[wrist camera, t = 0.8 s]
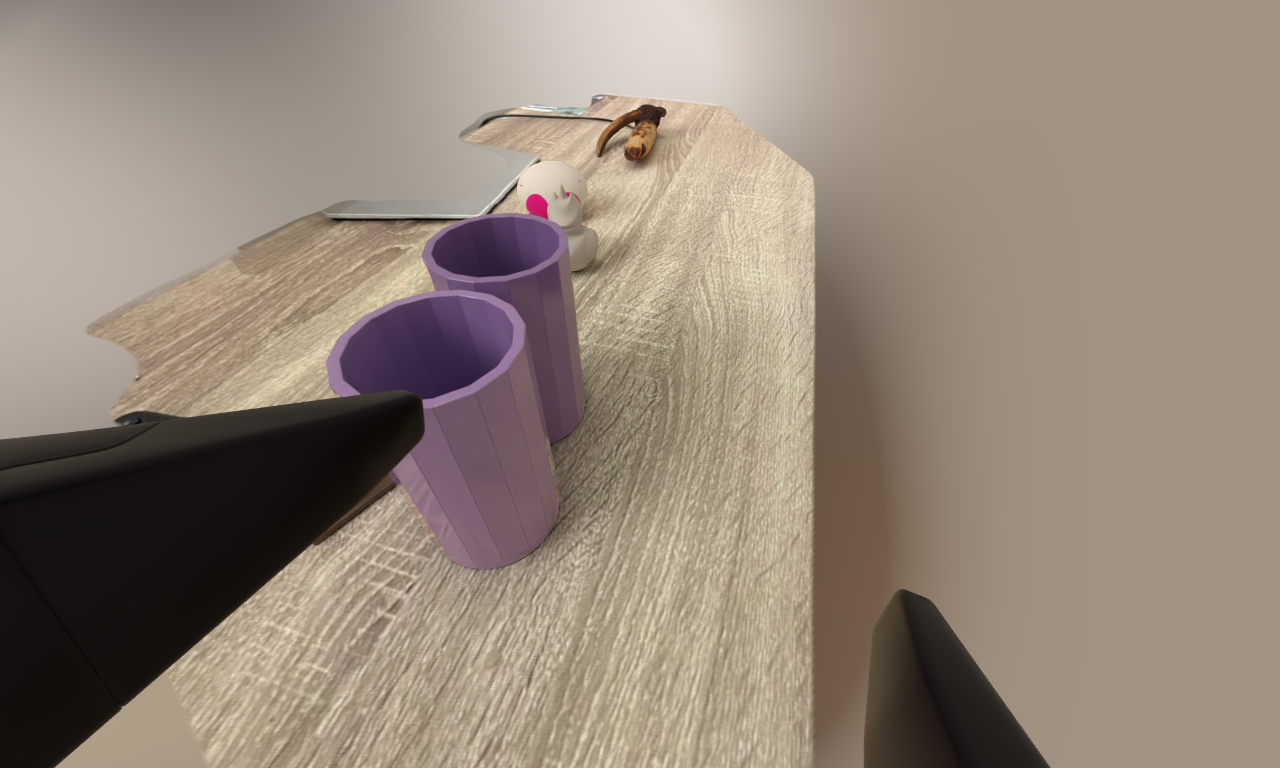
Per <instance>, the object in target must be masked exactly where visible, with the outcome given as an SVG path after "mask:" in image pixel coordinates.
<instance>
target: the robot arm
mask: <svg viewBox="0 0 1280 768" xmlns="http://www.w3.org/2000/svg"><path fill="white" fill-rule="evenodd" d="M424 433H425V421H424V409H423V401H422V399H421V397H420V396H418V395H417V394H414V393H412V392H409V391H407V390H402V389H399V390H391V391H383V392H376V393H368V394H361V395H353V396H346V397H338V398H331V399H323V400H316V401H308V402H301V403H293V404H286V405H278V406H271V407H263V408H256V409H248V410H241V411H233V412H226V413H218V414H211V415H203V416H196V417H188V418H181V419H173V420H166V421H164V422H159V421H158V422H150V423H142V424H135V425H127V426H119V427H111V428H104V429H95V430H87V431H78V432H69V433H60V434H50V435H41V436H32V437H22V438H12V439H2V440H0V768H54V767H56V766H57V765H58V764H59V763H60V762H61V761H63V759H65V758H66V757H67V756H68V755H70V753H72V752H73V751H74V750H75V749H76V748H78V747H79V746H80V745H81V744H82V743H83V742H85V741H86V740H87V739H88V738H89V737H90V736H91V735H93V734H94V733H95V732H96V731H97V730H98V729H99V728H101V727H102V726H103V725H104V724H105V723H106V722H108V721H109V720H110V719H111V718H112V717H113V716H114V715H116V714H117V713H118V712H119V711H120V710H121V709H122V706H125V705H126V704H128V703H129V702H130V701H131V700H132V699H133V698H135V697H136V696H137V695H138V694H139V693H140V692H141V691H143V690H144V689H145V688H146V687H147V686H148V685H150V684H151V683H152V682H153V681H154V680H155V679H157V678H158V677H159V676H160V675H161V674H162V673H163V672H165V671H166V670H167V669H168V668H169V667H170V666H172V665H173V664H174V663H175V662H176V661H177V660H178V659H180V658H181V657H182V656H183V655H184V654H185V653H187V652H188V651H189V650H190V649H191V648H192V647H194V646H195V645H196V644H197V643H198V642H199V641H200V640H202V639H203V638H204V637H205V636H206V635H207V634H209V633H210V632H211V631H212V630H213V629H214V628H215V627H217V626H218V625H219V624H220V623H221V622H222V621H224V620H225V619H226V618H227V617H228V616H229V615H230V614H232V613H233V612H234V611H235V610H236V609H237V608H239V607H240V606H241V605H242V604H243V603H244V602H245V601H247V600H248V599H249V598H250V597H251V596H252V595H254V594H255V593H256V592H257V591H258V590H259V589H261V588H262V587H263V586H264V585H265V584H266V583H267V582H269V581H270V580H271V579H272V578H273V577H274V576H276V575H277V574H278V573H279V572H280V571H281V570H282V569H284V568H285V567H286V566H287V565H288V564H289V563H291V562H292V561H293V560H294V559H295V558H296V557H297V556H299V555H300V554H301V553H302V552H303V551H304V550H306V549H307V548H308V547H309V546H310V545H311V544H312V543H314V542H315V541H316V540H317V539H318V538H319V537H321V536H322V535H323V534H324V533H325V532H326V531H328V530H329V529H330V528H331V527H332V526H333V525H334V524H336V523H337V522H338V521H339V520H340V519H341V518H343V517H344V516H345V515H346V514H347V513H348V512H349V511H351V510H352V509H353V508H354V507H355V506H356V505H358V504H359V503H360V502H361V501H362V500H363V499H364V498H365V497H366V496H367V495H368V494H369V493H370V492H371V491H372V490H373V489H374V488H376V486H377V485H378V484H379V483H380V482H381V481H382V480H383V479H384V478H385V477H386V476H387V475H388V474H389V473H390V472H391V471H392V470H393V469H394V468H395V467H396V466H397V465H398V464H399V463H400V462H401V461H402V460H403V459H404V458H405V457H406V456H407V455H408V453H409V452H410V451H411V450H412V449H413V448H414V447H415V446H416V445H417V444H418V443H419V442H420V441H421V439H422V438H423V436H424ZM864 768H1050V767H1049V765H1048V764H1047V762H1046V761H1045V759H1044V758H1043V756H1042V755H1041V754H1040V752H1039V751H1038V750H1037V748H1036V747H1035V745H1034V744H1033V742H1032V741H1031V740H1030V738H1029V737H1028V735H1027V734H1026V733H1025V731H1024V730H1023V728H1022V727H1021V726H1020V724H1019V723H1018V721H1017V720H1016V719H1015V717H1014V716H1013V714H1012V713H1011V712H1010V710H1009V709H1008V708H1007V706H1006V704H1005V703H1004V702H1003V700H1002V699H1001V698H1000V696H999V695H998V693H997V692H996V691H995V689H994V688H993V686H992V685H991V683H990V682H989V681H988V679H987V678H986V676H985V675H984V674H983V672H982V671H981V669H980V668H979V667H978V665H977V664H976V662H975V661H974V660H973V658H972V657H971V655H970V654H969V653H968V651H967V650H966V648H965V647H964V645H963V644H962V643H961V641H960V640H959V638H958V637H957V636H956V634H955V633H954V632H953V630H952V629H951V627H950V626H949V624H948V623H947V622H946V620H945V619H944V617H943V616H942V615H941V613H940V612H939V610H938V609H937V608H936V606H935V605H934V604H933V603H932V602H931V601H930V600H929V599H927V598H925V597H922V596H919V595H917V594H915V593H912V592H910V591H907V590H904V589H902V590H898V591H897V592H896V593H895V594H894V595H893V597H892V599H891V600H890V602H889V603H888V605H887V606H886V608H885V610H884V611H883V613H882V614H881V616H880V618H879V619H878V621H877V623H876V625H875V628H874V631H873V636H872V647H871V659H870V670H869V683H868V694H867V706H866V719H865V732H864Z"/></svg>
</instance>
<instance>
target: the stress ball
mask: <svg viewBox="0 0 1280 768" xmlns="http://www.w3.org/2000/svg"><path fill="white" fill-rule="evenodd" d="M561 184H562V186H563V188H564V190H565V192H566V195H567V197H569V196H570V193H571V192H572V193H573V194H574V195H575V197H576V198H577V199H578V200H579V202H580V204H581V206H583V205H584V203H585V201H586V198H587V184H586V181H585V179H584V177H583V176H582V174H581V173H580V172H579V171H578V170H577V169H575V168H574V167H572V166H571V165H569V164H566V163H563V162H559V161H544V162H540V163H537V164H534V165H532V166H531V167H529V168H528V169H527V170H526V171H525V172H524V173H523V174H522V175H521V177H520V179H519V181H518V185H517V195H518V198H519V201H520V203H521V204H522V206H523V207H524V208H525V209H526V210H527V211H528V212H529V213H531V214H532V215H535V216H540V217H542V218H545V219H548V213H547V208H548V205H549V202H550V200H551V197H552V194H553V192H555V193H556V195H557V196H559V193H560V186H561Z"/></svg>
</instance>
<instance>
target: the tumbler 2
mask: <svg viewBox="0 0 1280 768" xmlns="http://www.w3.org/2000/svg"><path fill="white" fill-rule="evenodd" d="M326 367H327V373H328V380H329V386H330V387H331V389H332V390H333V392H334V393H335V395H336V396H337V398H338V397H346V396H353V395H361V394H368V393H376V392H383V391H391V390H399V389H402V390H407V391H409V392H412V393H414V394H417V395H418V396H420V397H421V399H422V401H423V409H424V421H425V433H424V436H423V438H422V439H421V441H420V442H419V443H418V444H417V445H416V446H415V447H414V448H413V449H412V450H411V451H410V452H409V453H408V455H407V456H406V457H405V458H404V459H403V460H402V461H401V462H400V463H399V464H398V465H397V466H396V467H395V468H394V469H393V470H392V471H391V472H390V473H389V474H388V475H389V476H390V478H391V479H392V481H393V482H394V484H395V485H396V487H397V488H398V490H399V491H400V493H401V494H402V496H403V497H404V499H405V500H406V502H407V503H408V505H409V506H410V508H411V509H412V511H413V512H414V514H415V515H416V517H417V518H418V520H419V521H420V523H421V524H422V526H423V527H424V529H425V530H426V532H427V533H428V535H429V536H430V538H431V539H432V541H433V542H434V544H435V545H436V546H438V548H439V549H440V550H441V552H442V553H443V554H444V555H445V556H446V557H447V558H449V559H450V560H451V561H453V562H455V563H457V564H459V565H461V566H464V567H468V568H473V569H493V568H498V567H502V566H506V565H509V564H511V563H514V562H516V561H518V560H520V559H522V558H523V557H525V556H527V555H528V554H530V553H531V552H532V551H534V550H535V549H536V548H537V547H538V546H539V545H540V544H541V543H542V542H543V541H544V540H545V539H546V537H547V536H548V534H549V533H550V531H551V530H552V528H553V526H554V524H555V522H556V519H557V516H558V513H559V508H560V496H559V485H558V480H557V475H556V470H555V465H554V461H553V456H552V451H551V446H550V441H549V436H548V432H547V427H546V422H545V417H544V412H543V407H542V402H541V398H540V393H539V388H538V383H537V378H536V373H535V369H534V364H533V359H532V354H531V349H530V344H529V339H528V335H527V330H526V325H525V323H524V321H523V320H522V318H521V317H520V315H519V314H518V312H517V311H516V309H515V308H514V307H513V306H512V305H510V304H509V303H507V302H505V301H503V300H501V299H499V298H497V297H495V296H493V295H491V294H486V293H480V292H474V291H468V290H448V291H432V292H426V293H422V294H418V295H414V296H411V297H407V298H403V299H399V300H396V301H393V302H391V303H389V304H387V305H385V306H383V307H381V308H379V309H377V310H375V311H373V312H371V313H369V314H367V315H365V316H364V317H362V318H361V319H359V320H358V321H357V322H356V323H355V324H354V325H352V326H351V327H350V328H349V329H348V330H347V331H345V332H344V333H343V334H342V335H341V336H340V337H339V338H338V339H337V341H336V343H335V345H334V347H333V349H332V351H331V353H330V355H329V357H328V359H327V360H326Z"/></svg>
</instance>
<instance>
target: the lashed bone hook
mask: <svg viewBox="0 0 1280 768" xmlns="http://www.w3.org/2000/svg"><path fill="white" fill-rule="evenodd" d="M665 115H666V109H664V108H662V107H655V106H653V105H642V106H641V107H639V108H638V109H637V110H633V111H631V112H629V113H626V114H624V115H622V116H620V117H619V118H617V119H616V120H614V121H613V122H612V123H611V124H610V125H609V126H608V127H607V128H606V129H605V130H604V131H603V132H602V134H601V135H600V137H599V140H598V142H597V156H598V157H599V156H600V155H601V154H602V152H603V150H604V148H605V146H606V144H607V142H608V141H609V139H610V138H611V137H612V136H613V135H614V134H616V133H617V132H618V131H619V130H620V129H622V128H623V127H625V126H626V125H628V124H630V123H633V122H635V127H634V130H633V131H632V133H631V135H630V137H629V139H628V141H627V143H626V145H625V149H624V151H625V153H624V155H625V158H626V159H627V160H630V161H634V160H640V159H642V158H643V157H644V156H645V155H646V154H647V153H648V152H649V151H650V150H651V147H652V145H653V144H654V142H655V139H656V130H657V127H658V126H659V124H660V118H661V117H665Z"/></svg>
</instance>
